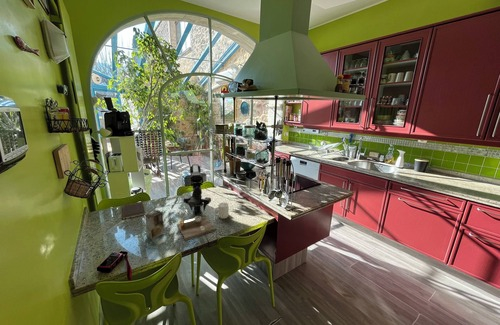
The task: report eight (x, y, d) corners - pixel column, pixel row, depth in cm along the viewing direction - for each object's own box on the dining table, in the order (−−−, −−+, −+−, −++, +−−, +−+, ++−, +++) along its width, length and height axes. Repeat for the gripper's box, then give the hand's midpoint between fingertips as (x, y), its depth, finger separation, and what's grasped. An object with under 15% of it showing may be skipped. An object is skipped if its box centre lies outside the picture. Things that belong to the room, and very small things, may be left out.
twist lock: (200, 219, 156) (199, 214, 155) (202, 222, 152) (202, 217, 151) (179, 225, 148) (179, 220, 147) (181, 229, 144) (181, 223, 143)
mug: (215, 220, 159) (214, 208, 157) (212, 215, 167) (212, 204, 164) (229, 217, 164) (229, 206, 161) (226, 213, 171) (226, 201, 169)
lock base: (177, 226, 151) (177, 224, 150) (205, 217, 163) (205, 216, 162) (185, 240, 135) (185, 238, 134) (215, 230, 147) (215, 228, 146)
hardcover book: (142, 204, 185) (142, 201, 184) (145, 215, 166) (144, 212, 166) (122, 208, 177) (122, 205, 176) (122, 220, 158) (122, 217, 157)
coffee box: (160, 229, 145) (158, 209, 141) (164, 233, 142) (162, 212, 137) (147, 235, 139) (144, 214, 134) (151, 239, 135) (149, 217, 131)
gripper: (179, 194, 137) (180, 215, 141) (205, 196, 135) (206, 217, 139) (186, 188, 147) (187, 207, 152) (211, 190, 145) (211, 209, 150)
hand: (197, 210), depth 148 cm, fingers open, 9 cm apart
